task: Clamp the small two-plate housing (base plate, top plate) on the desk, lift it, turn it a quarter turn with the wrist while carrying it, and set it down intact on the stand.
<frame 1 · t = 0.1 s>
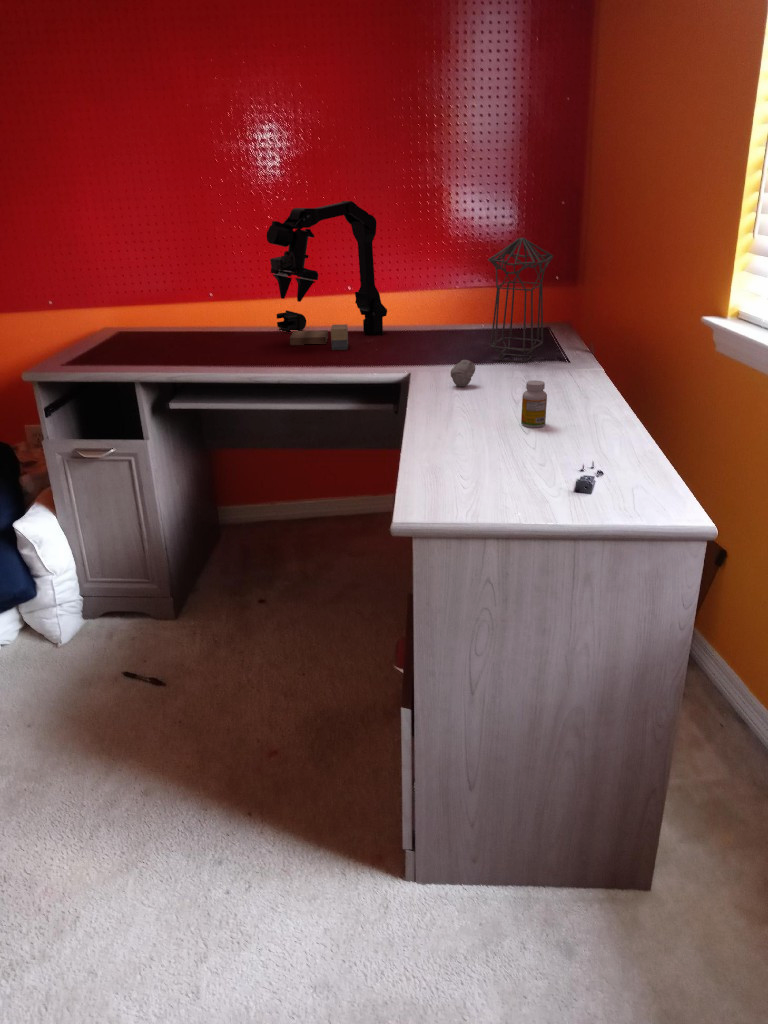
hand: (290, 300, 253), 15 cm above the table, tool pointing down, fingers open, 9 cm apart
end cap: (292, 331, 287), on the table
grey rock: (462, 387, 210), on the table
supplement bottle: (533, 425, 177), on the table
geometric lantern: (515, 360, 237), on the table
housing: (340, 348, 257), on the table
walnut stand: (309, 341, 268), on the table
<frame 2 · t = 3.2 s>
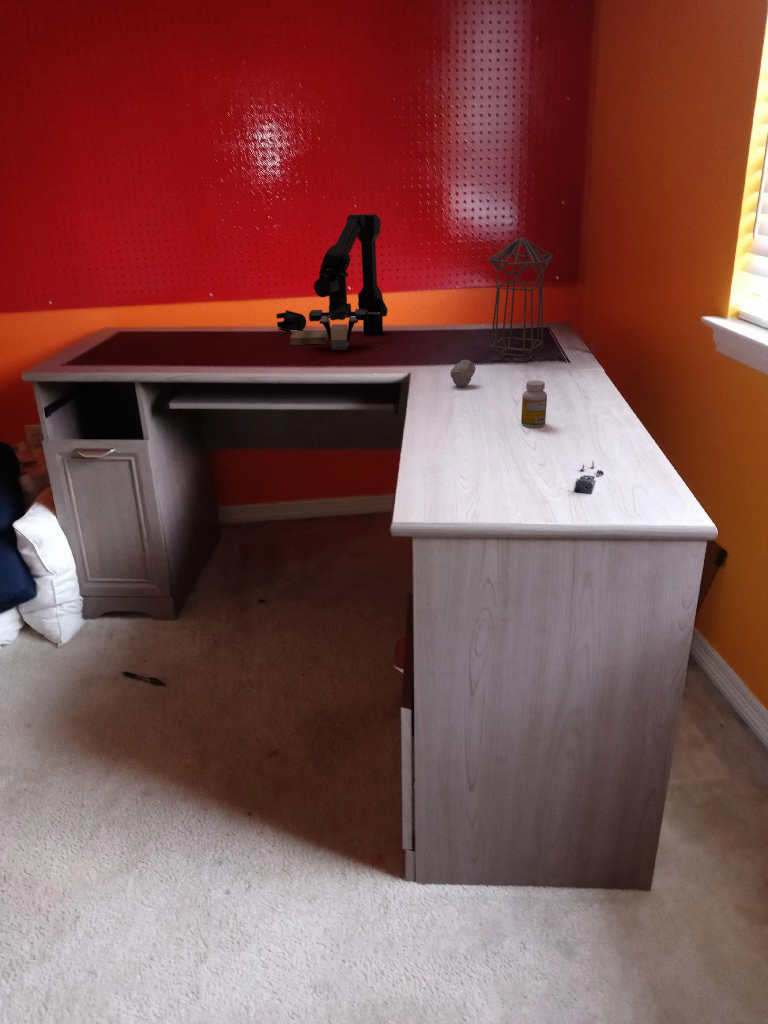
hand: (339, 341, 256), 2 cm above the table, tool pointing down, fingers closed on housing, 5 cm apart
housing: (340, 348, 257), on the table, touching gripper
everything else where it was.
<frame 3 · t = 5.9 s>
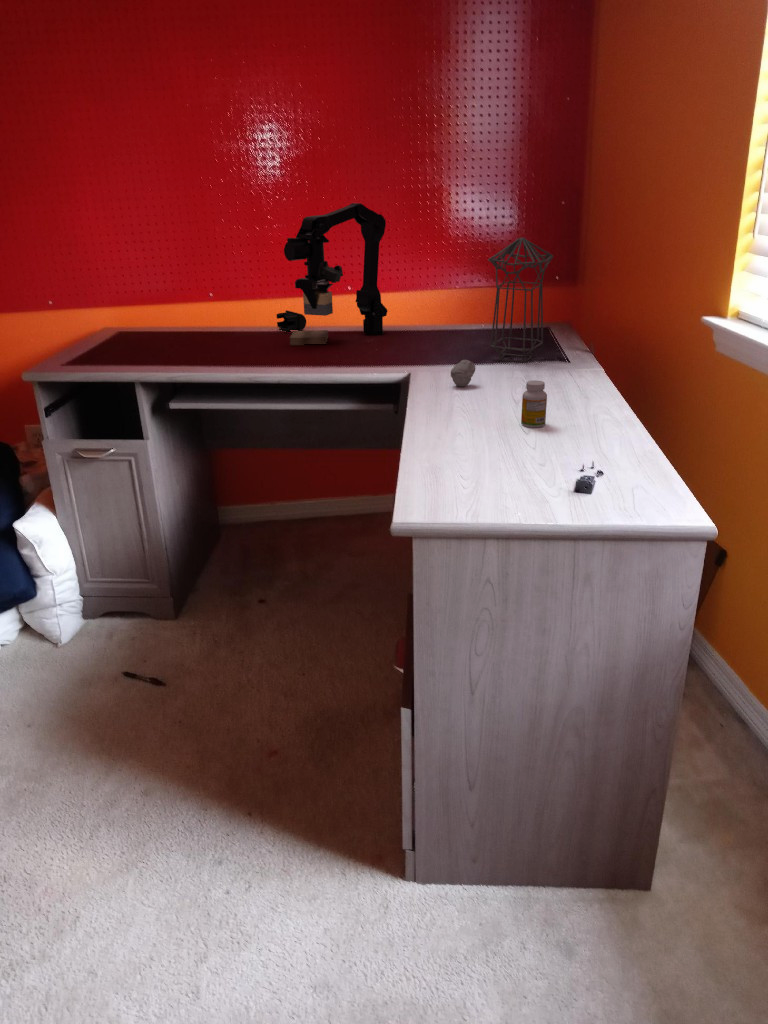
hand: (318, 307, 260), 12 cm above the table, tool pointing down, fingers closed on housing, 5 cm apart
housing: (318, 313, 260), point 10 cm above the table, touching gripper
everything else where it was.
when the fingers open (6 cm above the table, at t = 8.4 s): housing drops 1 cm, resting on walnut stand.
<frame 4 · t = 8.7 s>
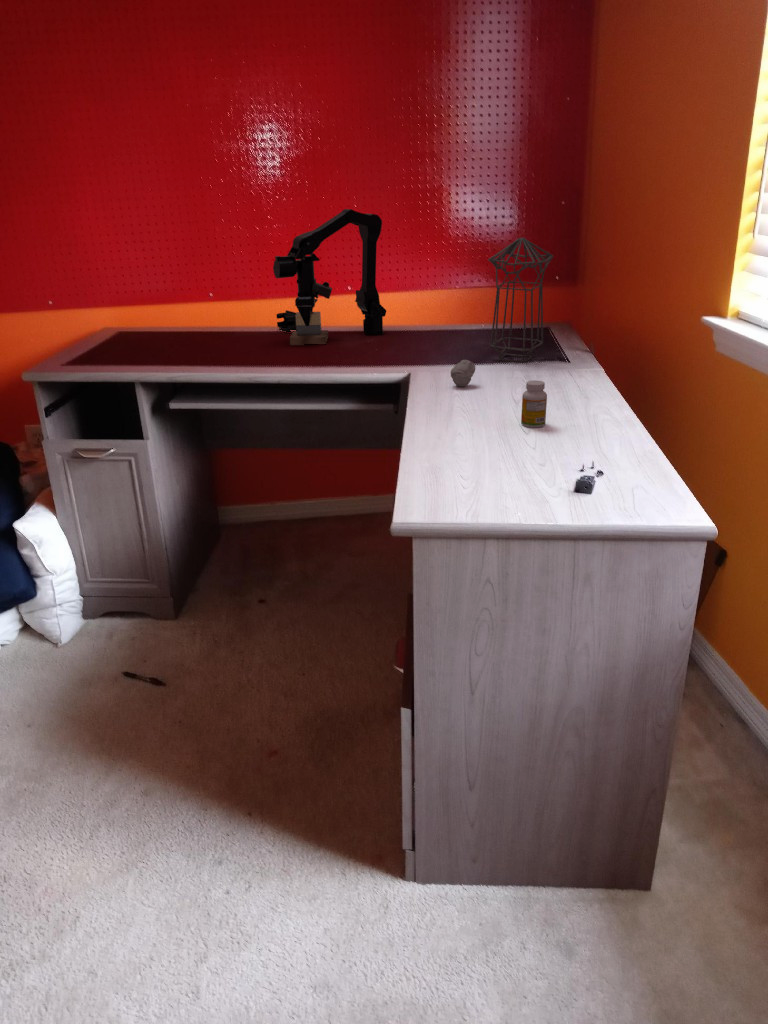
hand: (308, 323, 266), 6 cm above the table, tool pointing down, fingers open, 8 cm apart
housing: (309, 334, 267), point 2 cm above the table, touching walnut stand
everything else where it was.
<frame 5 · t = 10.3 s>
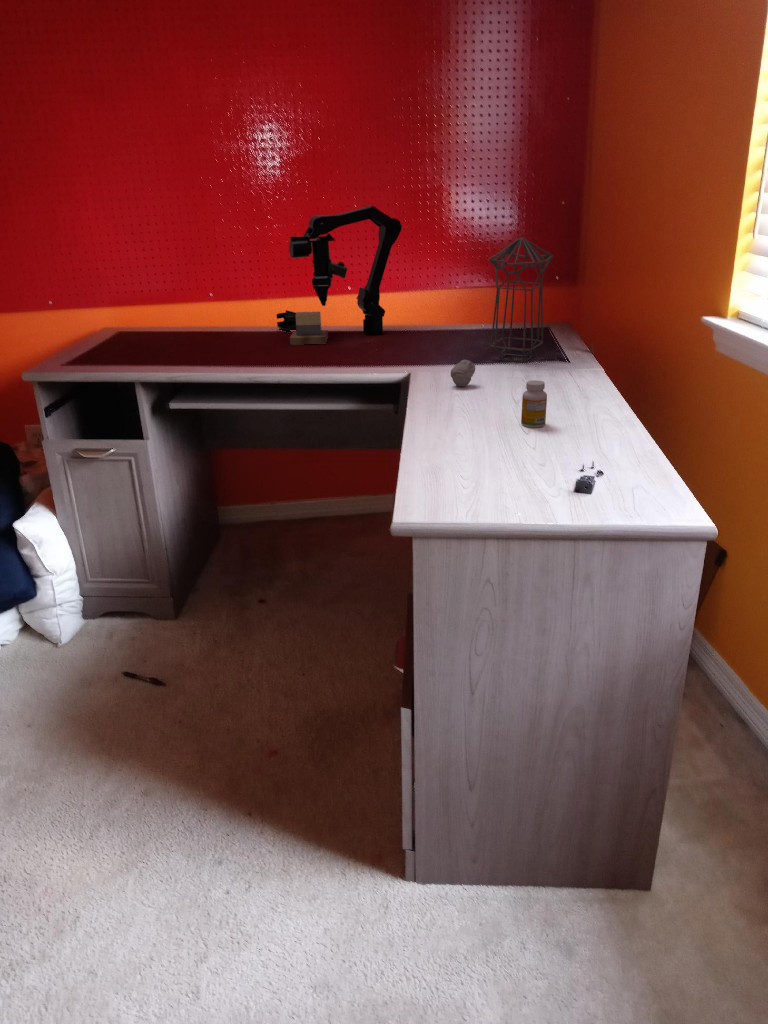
hand: (324, 303, 269), 12 cm above the table, tool pointing down, fingers open, 9 cm apart
nothing on the table moved.
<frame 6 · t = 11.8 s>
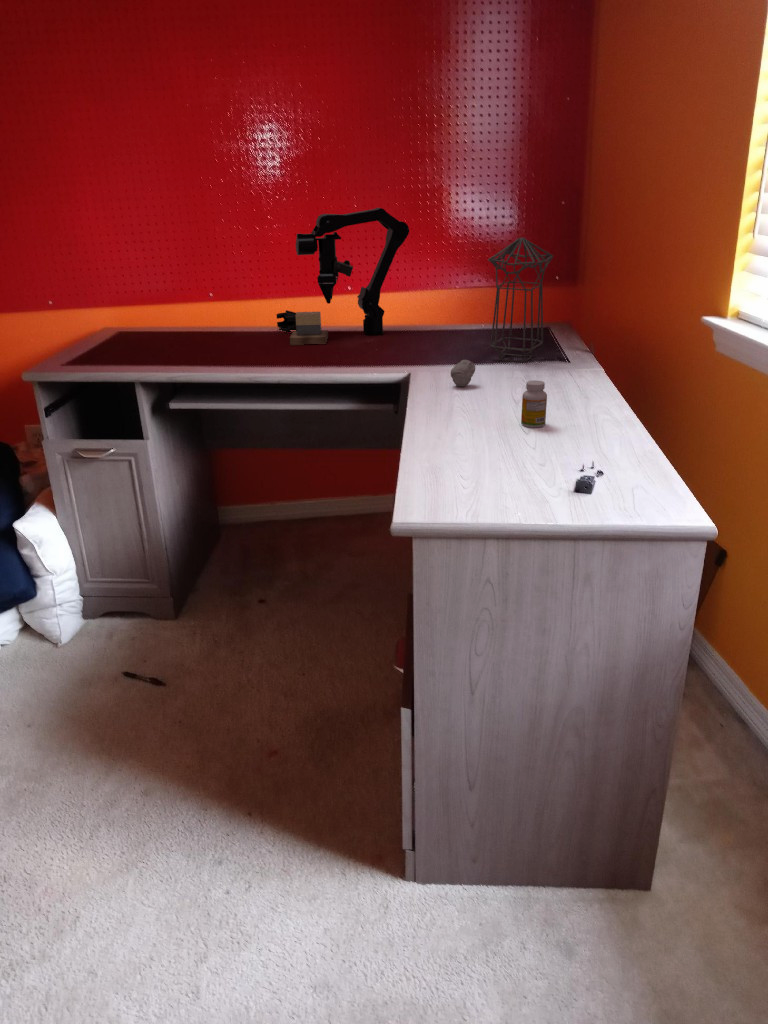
hand: (329, 301, 271), 12 cm above the table, tool pointing down, fingers open, 9 cm apart
nothing on the table moved.
at the end: housing inside the target area on the walnut stand (0.1 cm from its centre), point 2.5 cm above the walnut stand's base; the gripper is holding nothing; housing tilted 0° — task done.
